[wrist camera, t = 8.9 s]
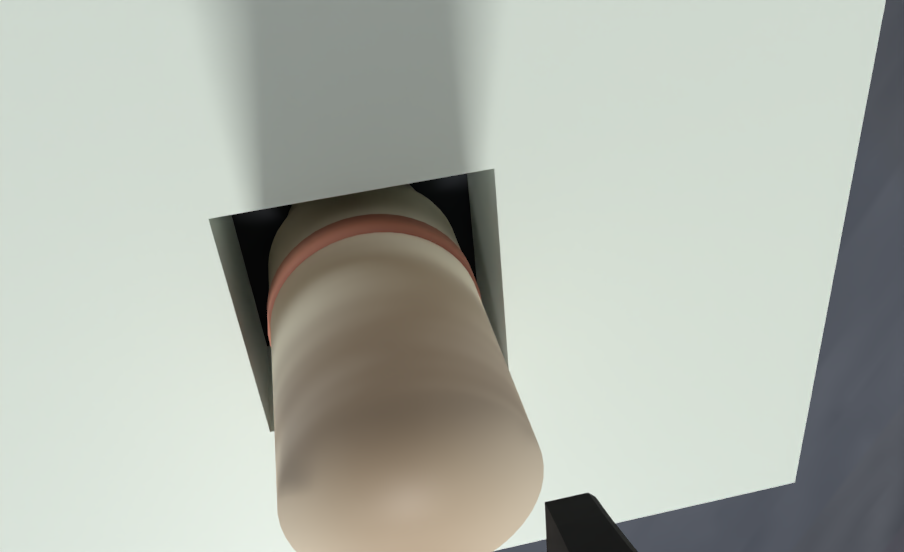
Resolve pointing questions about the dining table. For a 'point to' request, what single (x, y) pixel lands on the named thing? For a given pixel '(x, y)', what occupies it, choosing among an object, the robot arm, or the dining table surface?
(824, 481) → the dining table surface
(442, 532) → the peg
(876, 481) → the dining table surface
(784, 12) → the board
